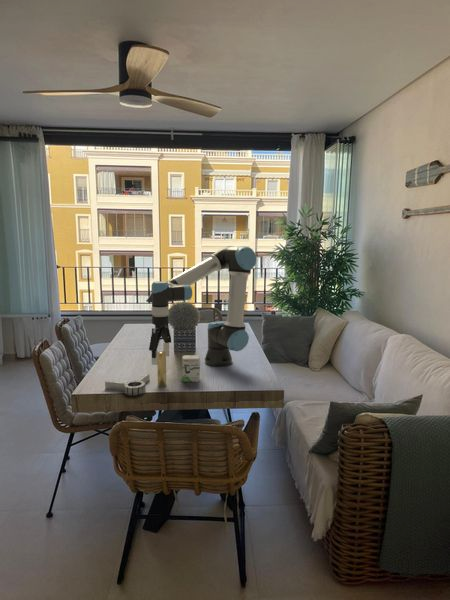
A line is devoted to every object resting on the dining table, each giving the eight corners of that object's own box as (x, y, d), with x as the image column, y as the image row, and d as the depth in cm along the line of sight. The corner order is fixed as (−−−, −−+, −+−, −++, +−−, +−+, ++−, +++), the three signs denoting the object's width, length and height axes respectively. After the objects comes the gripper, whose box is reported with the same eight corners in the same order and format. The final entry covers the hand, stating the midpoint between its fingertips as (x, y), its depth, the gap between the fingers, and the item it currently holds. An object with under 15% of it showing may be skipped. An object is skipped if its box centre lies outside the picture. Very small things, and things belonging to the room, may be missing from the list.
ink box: (182, 382, 188) (181, 358, 187) (182, 378, 193) (182, 355, 192) (199, 381, 189) (199, 358, 187) (199, 377, 194) (199, 355, 192)
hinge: (157, 381, 190) (157, 374, 189) (139, 396, 171) (139, 388, 171) (121, 377, 194) (121, 371, 194) (100, 392, 176) (100, 384, 175)
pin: (167, 384, 186) (166, 351, 183) (164, 387, 182) (163, 354, 179) (159, 383, 187) (159, 351, 184) (156, 386, 183) (155, 353, 180)
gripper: (163, 310, 192) (163, 352, 195) (140, 320, 168) (141, 367, 171) (177, 311, 190) (177, 353, 193) (156, 321, 166) (157, 369, 169)
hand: (160, 360), depth 182 cm, fingers open, 13 cm apart
